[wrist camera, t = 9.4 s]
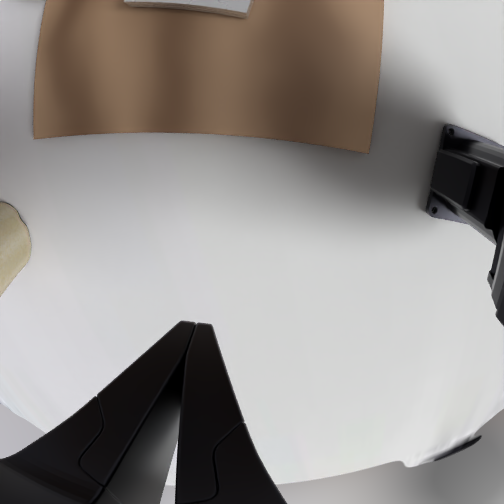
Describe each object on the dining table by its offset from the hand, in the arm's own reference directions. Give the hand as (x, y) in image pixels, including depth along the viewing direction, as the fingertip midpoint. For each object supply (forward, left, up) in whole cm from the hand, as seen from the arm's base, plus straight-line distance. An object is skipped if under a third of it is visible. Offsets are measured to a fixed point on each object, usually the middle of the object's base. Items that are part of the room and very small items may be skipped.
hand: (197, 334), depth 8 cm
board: (+3, -15, -12) cm, 20 cm away
